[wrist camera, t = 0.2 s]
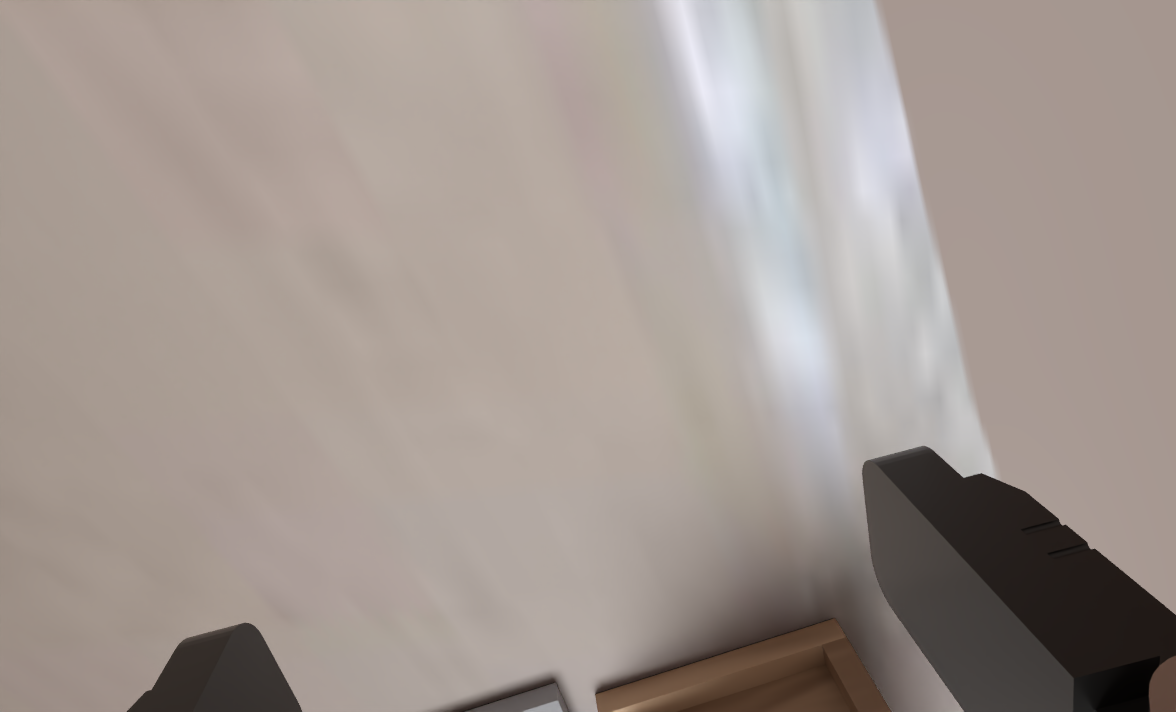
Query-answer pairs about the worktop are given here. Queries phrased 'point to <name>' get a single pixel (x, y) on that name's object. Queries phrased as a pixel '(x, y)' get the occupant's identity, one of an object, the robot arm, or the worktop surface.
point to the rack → (761, 679)
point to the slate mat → (529, 702)
